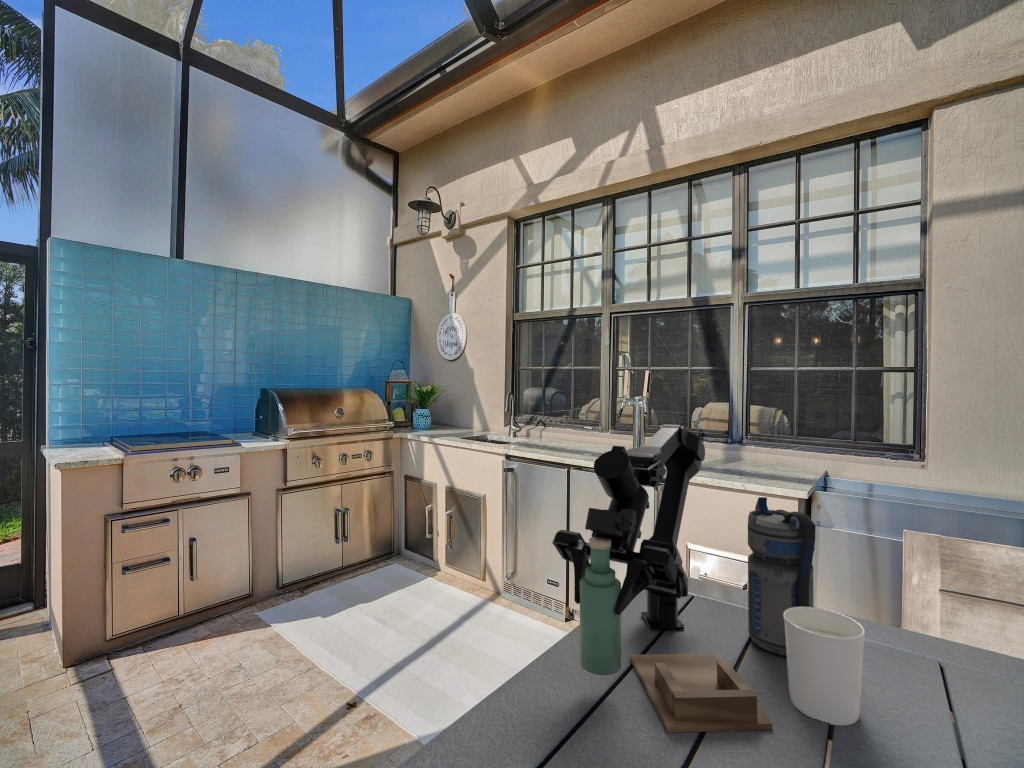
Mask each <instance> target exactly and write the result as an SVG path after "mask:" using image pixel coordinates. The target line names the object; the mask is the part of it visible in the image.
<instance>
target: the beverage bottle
mask: <svg viewBox="0 0 1024 768" xmlns="http://www.w3.org/2000/svg"><path fill="white" fill-rule="evenodd" d="M767 501H768V497H766V496H765V497H764V496H763V497H759V496H758V498H757V501H756V504H755V508H754V510H752V511H750V512H749V513H748V517H747V545H748V547H749V549H750V550H751V551H752V553H751V554H749V555H748V557H747V602H748V603H747V615H748V617H747V624H748V625H747V627H748V628H747V629H748V630H747V631H748V635H749V637H750V638H751V640H752V642H753V643H754V644H756V645H757V646H758V647H760V648H762V649H763V650H764V651H768V652H769V653H772V654H776V655H780V656H784V657H785V656H786V657H787V655H786V641H785V627H784V618H783V613H784V611H785V610H787V609H789V608H792V607H814V565H813V560H814V559H813V558H814V552H815V551H816V550H815V543H816V524H815V523H814V521H813V520H812V519H811V518H810V516H809V515H808V514H807V513H806V514H805V513H803V512H800V511H787V510H784V509H776V510H775V509H769V507H768V502H767Z"/></svg>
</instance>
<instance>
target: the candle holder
mask: <svg viewBox="0 0 1024 768" xmlns="http://www.w3.org/2000/svg"><path fill="white" fill-rule="evenodd" d="M783 618H784V627H785V641H786V655H787V656H786V667H787V681H788V691H789V692H788V693H789V694H788V695H789V699H790V702H791V703H792V705H793V706H794V707H795V708H796V709H797V710H798V711H799V712H801V713H802V714H803V715H806V716H807V717H809V718H811V719H813V720H815V719H819V720H821V721H826V722H828V723H830V724H829V725H831V726H839V727H840V726H851V725H854V724H855V723H857V722H858V720H859V718H860V712H861V711H860V710H861V701H862V700H861V697H862V682H863V681H862V680H863V665H864V646H865V637H866V636H865V635H866V630H865V628H864V626H862V624H861V623H859V622H858V621H857V620H855V619H853V618H851V617H850V616H846V615H844V614H842V613H839V612H836V611H833V610H829V609H825V608H820V607H792V608H789V609H787V610H785V611H784V613H783Z"/></svg>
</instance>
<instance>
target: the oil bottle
mask: <svg viewBox="0 0 1024 768" xmlns="http://www.w3.org/2000/svg"><path fill="white" fill-rule="evenodd" d="M588 540H589V541H588V543H589V547H590V548H591V558H590V564H591V566H590V567H587V568H586V569H585V576H584V577H582V578H581V579H580V603H579V665H580V666H581V668H582V669H583V670H585V671H586V672H588V673H590V674H592V675H595V676H596V675H597V676H611V675H614V674H617V673H618V672H620V671H621V669H622V613H621V614H620V615H616V613H615V608H616V603H617V599H618V597H619V594H620V591H621V588H622V582H621V580H620V579H618V578H616V570H615V569H613V568H612V567H611V560H610V548H611V539H609V538H606V537H592V536H591V537H590V538H589V539H588Z"/></svg>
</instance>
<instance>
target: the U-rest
mask: <svg viewBox="0 0 1024 768" xmlns="http://www.w3.org/2000/svg"><path fill="white" fill-rule="evenodd" d="M629 661H630V663H631V665H632V666H633V668H634V671H635V673H637V676H638V678H639V680H640V681H641V684H642V686H643V688H644V689H645V692H646V693H647V695H648V697H649V700H650V701H651V703H652V705H653V707H654V709H655V712H657V714H658V716H659V719H660V721H661V722H662V724H663V727H664V729H665V730H666V733H700V732H703V733H705V732H740V731H741V732H742V731H746V732H748V731H773V723H772V721H771V720H770V719H769V718H768V717H767V715H766V714H765V713H764V711H762V710H761V708H760V706H758V695H757V694H756V693H755V692H754V691H753V690H752V689H751V688H750V686H749V685H748V684H747V683H746V681H745V680H744V679H743V678H742V677H741V676H740V675H739V673H738V672H737V671H736V670H735V669H734V668H733V667H732V666H731V665H730V663H729V662H728V661H720V660H719V659H718V657H717V656H715V654H714V653H712V652H710V653H708V652H707V653H663V654H662V653H657V654H653V653H652V654H651V653H650V654H629Z"/></svg>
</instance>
